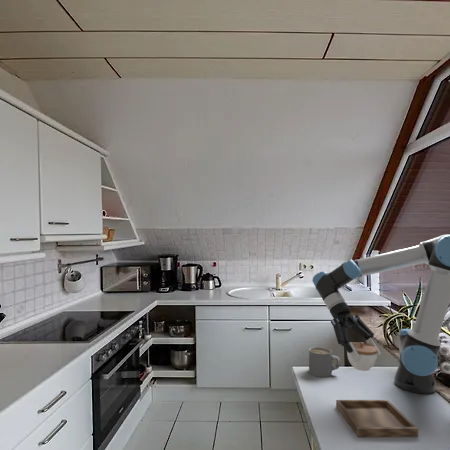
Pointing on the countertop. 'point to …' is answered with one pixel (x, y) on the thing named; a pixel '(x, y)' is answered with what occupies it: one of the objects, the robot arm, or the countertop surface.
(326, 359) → the coffee mug
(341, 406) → the walnut square tray
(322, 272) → the robot arm
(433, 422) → the countertop surface
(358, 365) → the lidded jar
